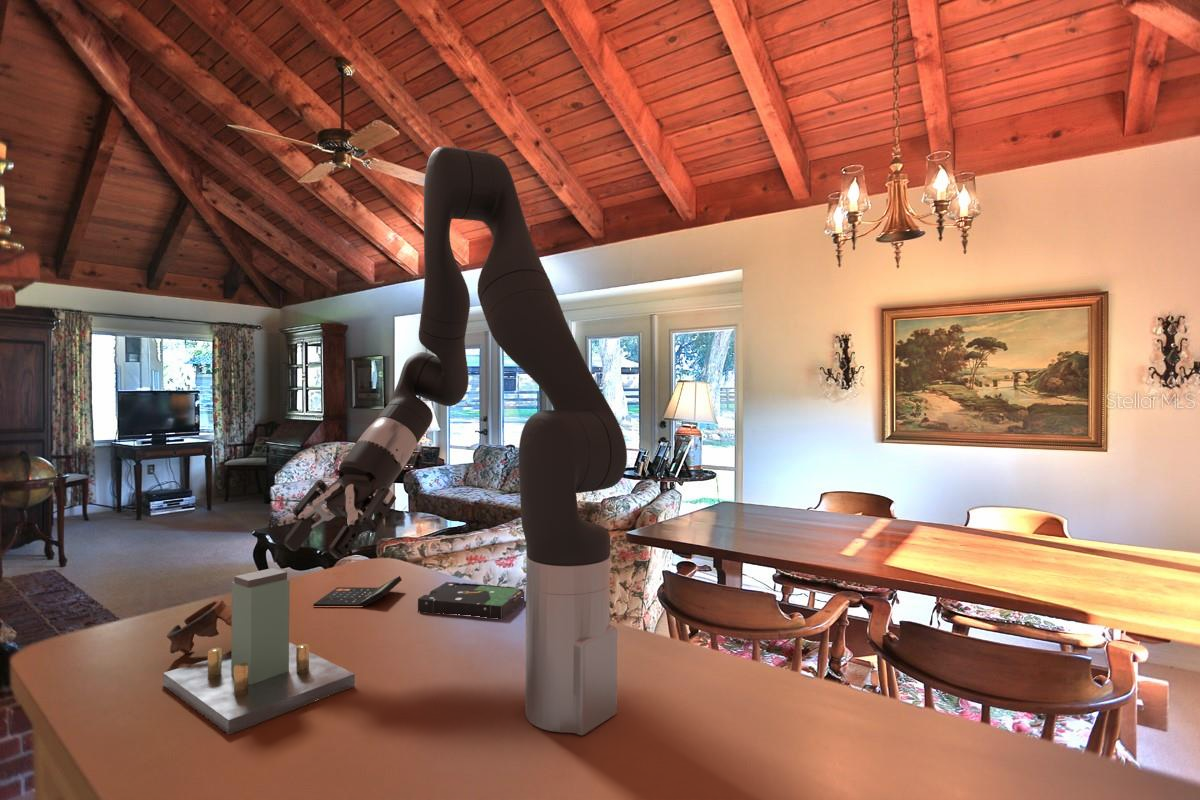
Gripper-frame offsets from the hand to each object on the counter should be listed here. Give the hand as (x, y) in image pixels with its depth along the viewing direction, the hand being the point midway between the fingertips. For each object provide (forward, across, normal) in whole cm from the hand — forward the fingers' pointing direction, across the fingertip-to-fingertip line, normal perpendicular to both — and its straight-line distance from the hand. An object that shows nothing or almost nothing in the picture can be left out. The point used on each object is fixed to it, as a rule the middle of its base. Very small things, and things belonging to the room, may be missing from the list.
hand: (311, 551), depth 82 cm
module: (+14, 0, +4) cm, 15 cm away
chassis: (+15, 0, +5) cm, 16 cm away
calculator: (-5, -16, +26) cm, 31 cm away
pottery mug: (+13, -14, +8) cm, 20 cm away
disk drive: (-9, +3, +31) cm, 33 cm away
